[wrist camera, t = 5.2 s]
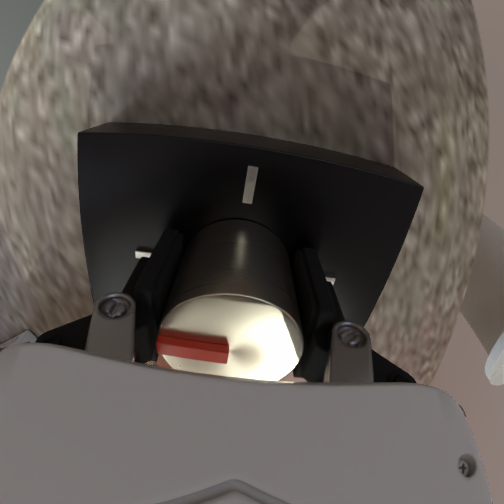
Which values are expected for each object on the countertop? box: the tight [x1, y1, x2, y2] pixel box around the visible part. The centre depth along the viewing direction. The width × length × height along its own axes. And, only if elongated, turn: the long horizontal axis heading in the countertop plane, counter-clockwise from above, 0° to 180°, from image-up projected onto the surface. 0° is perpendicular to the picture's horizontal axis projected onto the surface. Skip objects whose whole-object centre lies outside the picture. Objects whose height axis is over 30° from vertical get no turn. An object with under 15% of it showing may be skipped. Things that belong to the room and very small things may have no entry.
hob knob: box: [156, 219, 304, 381], centre depth 10 cm, size 4×4×5 cm
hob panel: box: [78, 122, 424, 327], centre depth 14 cm, size 14×10×3 cm
